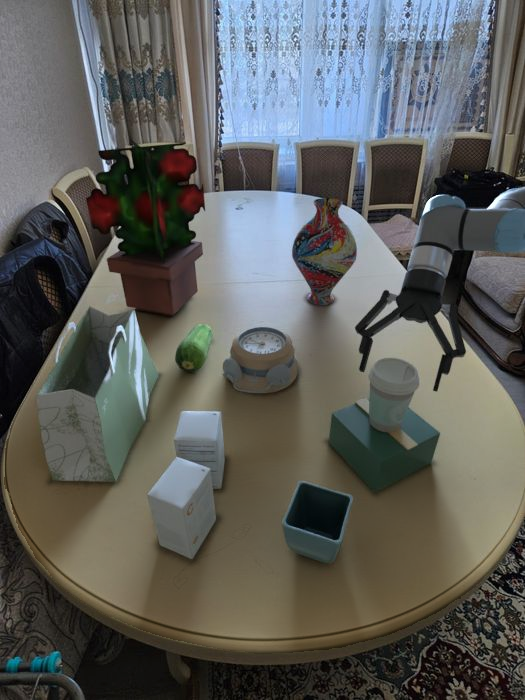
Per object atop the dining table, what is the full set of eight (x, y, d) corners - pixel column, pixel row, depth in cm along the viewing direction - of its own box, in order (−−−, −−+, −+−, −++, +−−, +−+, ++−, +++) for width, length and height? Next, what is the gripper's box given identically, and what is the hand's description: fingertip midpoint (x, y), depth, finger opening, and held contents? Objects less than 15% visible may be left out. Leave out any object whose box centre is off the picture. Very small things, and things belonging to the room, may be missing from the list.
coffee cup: (385, 445, 78) (396, 392, 72) (352, 417, 84) (359, 366, 77) (418, 425, 82) (432, 374, 75) (384, 400, 88) (394, 350, 81)
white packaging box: (187, 458, 87) (180, 409, 80) (225, 459, 87) (222, 410, 80) (180, 489, 81) (172, 439, 74) (221, 490, 81) (217, 440, 73)
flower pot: (297, 513, 77) (299, 479, 72) (348, 530, 74) (354, 495, 69) (280, 559, 70) (280, 524, 65) (335, 579, 67) (340, 544, 62)
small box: (185, 506, 78) (176, 455, 71) (217, 519, 76) (211, 467, 68) (158, 546, 72) (145, 494, 64) (192, 561, 70) (183, 509, 62)
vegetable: (176, 347, 103) (200, 306, 120) (166, 368, 107) (190, 326, 124) (205, 361, 104) (224, 319, 121) (194, 382, 108) (214, 338, 125)
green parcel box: (432, 463, 85) (441, 432, 81) (375, 493, 80) (382, 462, 75) (381, 418, 96) (387, 388, 91) (327, 441, 90) (331, 411, 86)
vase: (293, 314, 132) (297, 213, 115) (288, 285, 148) (290, 193, 131) (356, 313, 133) (369, 212, 116) (345, 284, 148) (355, 192, 131)
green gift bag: (123, 482, 82) (95, 383, 69) (49, 480, 83) (7, 382, 70) (161, 375, 109) (146, 289, 95) (104, 374, 109) (82, 288, 96)
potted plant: (151, 284, 150) (127, 137, 124) (211, 293, 144) (199, 141, 118) (112, 315, 133) (75, 152, 107) (179, 328, 126) (156, 158, 101)
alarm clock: (303, 324, 110) (288, 382, 91) (301, 355, 115) (287, 415, 97) (236, 317, 113) (208, 372, 94) (237, 347, 118) (211, 405, 100)
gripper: (493, 294, 85) (466, 401, 82) (364, 271, 94) (336, 367, 91) (500, 279, 78) (471, 396, 75) (360, 256, 87) (329, 359, 84)
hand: (397, 380), depth 83 cm, fingers open, 13 cm apart
